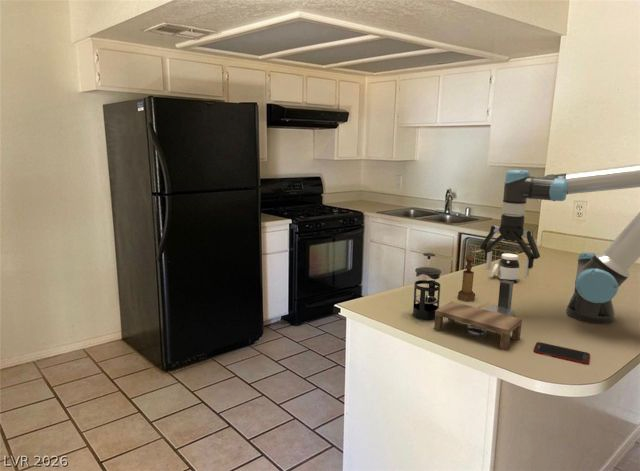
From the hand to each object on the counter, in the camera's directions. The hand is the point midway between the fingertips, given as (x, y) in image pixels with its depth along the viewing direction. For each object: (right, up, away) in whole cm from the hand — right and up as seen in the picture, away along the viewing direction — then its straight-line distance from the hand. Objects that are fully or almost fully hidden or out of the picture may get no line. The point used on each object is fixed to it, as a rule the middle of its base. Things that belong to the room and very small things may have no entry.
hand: (506, 272), depth 169 cm
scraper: (-5, -16, -3) cm, 17 cm away
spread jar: (+16, -7, +44) cm, 47 cm away
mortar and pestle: (-9, -12, +18) cm, 24 cm away
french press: (-29, -15, 0) cm, 33 cm away
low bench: (-16, -19, -15) cm, 29 cm away
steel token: (-16, -19, -15) cm, 29 cm away
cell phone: (+5, -22, -29) cm, 37 cm away
